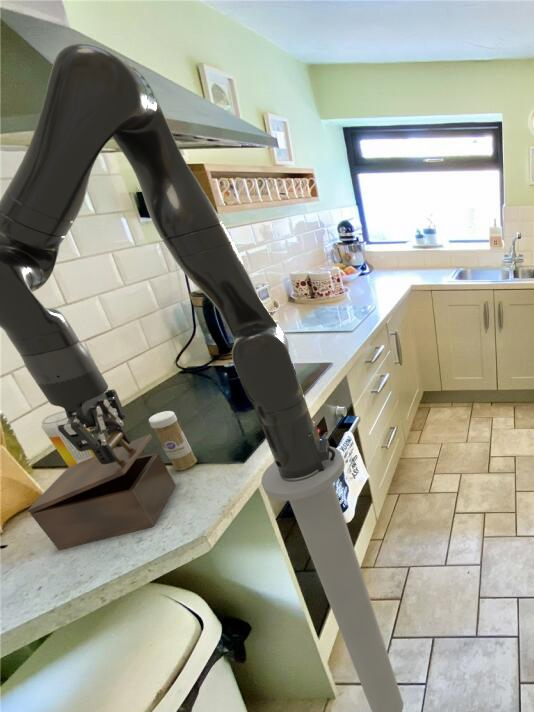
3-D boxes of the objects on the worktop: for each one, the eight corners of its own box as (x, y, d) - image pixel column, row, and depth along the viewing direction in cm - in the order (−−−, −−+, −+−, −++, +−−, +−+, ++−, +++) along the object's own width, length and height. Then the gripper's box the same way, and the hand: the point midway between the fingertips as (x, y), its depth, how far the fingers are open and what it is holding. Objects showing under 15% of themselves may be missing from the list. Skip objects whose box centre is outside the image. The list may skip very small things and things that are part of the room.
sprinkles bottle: (174, 474, 94) (146, 423, 87) (174, 464, 97) (148, 414, 91) (198, 465, 96) (173, 416, 90) (197, 456, 99) (174, 407, 93)
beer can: (106, 460, 100) (73, 406, 93) (114, 468, 96) (80, 413, 90) (73, 474, 95) (35, 418, 88) (80, 483, 92) (41, 426, 85)
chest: (176, 485, 90) (158, 452, 86) (153, 526, 79) (131, 491, 75) (94, 504, 86) (71, 470, 82) (58, 550, 75) (30, 514, 71)
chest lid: (152, 436, 84) (133, 416, 82) (124, 474, 74) (101, 452, 71) (71, 470, 82) (49, 450, 79) (30, 513, 71) (3, 493, 69)
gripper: (69, 385, 65) (124, 471, 73) (113, 352, 77) (155, 429, 85) (8, 395, 63) (71, 482, 71) (63, 360, 75) (111, 438, 83)
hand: (117, 453), depth 78 cm, fingers closed on chest lid, 5 cm apart
